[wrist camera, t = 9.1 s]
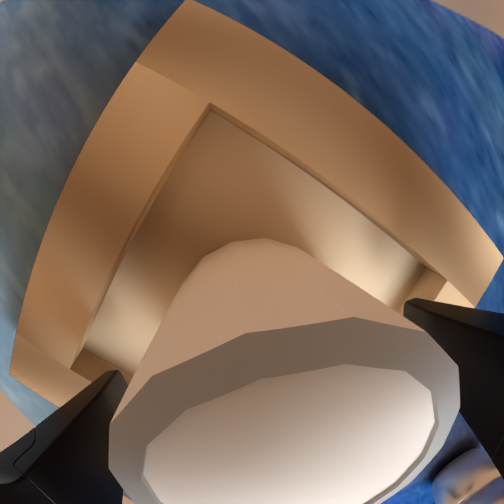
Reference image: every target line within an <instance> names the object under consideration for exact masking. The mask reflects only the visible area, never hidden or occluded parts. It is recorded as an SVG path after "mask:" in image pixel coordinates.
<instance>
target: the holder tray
mask: <svg viewBox="0 0 504 504" xmlns="http://www.w3.org/2000/svg"><path fill="white" fill-rule="evenodd" d="M261 238H268V239H271V240H274V241H278V242H281V243H285V244H288V245H291V246H295V247H297V248H299V249H301V250H302V251H304V252H305V253H307V254H308V255H310V256H312V257H313V258H315V259H316V260H318V261H319V262H321V263H323V264H324V265H326V266H327V267H329V268H330V269H332V270H333V271H335V272H337V273H338V274H340V275H341V276H343V277H344V278H346V279H347V280H349V281H351V282H352V283H354V284H355V285H357V286H358V287H360V288H361V289H363V290H364V291H366V292H367V293H369V294H370V295H372V296H373V297H375V298H377V299H378V300H380V301H381V302H383V303H384V304H386V305H387V306H389V307H390V308H392V309H393V310H395V311H396V312H398V313H399V314H401V315H402V316H403V306H404V303H405V301H407V300H410V299H413V298H421V299H426V300H431V301H437V302H442V303H448V304H453V305H458V306H464V307H469V308H475V306H476V305H477V303H478V302H479V300H480V298H481V297H482V295H483V294H484V292H485V290H486V289H487V287H488V285H489V284H490V282H491V280H492V278H493V277H494V275H495V273H496V271H497V269H498V268H499V266H500V264H501V262H502V260H503V256H502V255H501V253H500V252H499V250H498V249H497V248H496V246H495V245H494V244H493V242H492V241H491V240H490V238H489V237H488V236H487V234H486V233H485V232H484V230H483V229H482V228H481V226H480V225H479V224H478V223H477V221H476V220H475V219H474V218H473V216H472V215H471V214H470V213H469V211H468V210H467V209H466V208H465V207H464V205H463V204H462V203H461V202H460V201H459V200H458V198H457V197H456V196H455V195H454V194H453V193H452V192H451V190H450V189H449V188H448V187H447V186H446V185H445V184H444V183H443V182H442V180H441V179H440V178H439V177H438V176H437V175H436V174H435V173H434V172H433V171H432V170H431V169H430V168H429V167H428V166H427V165H426V164H425V163H424V162H423V161H422V160H421V159H420V157H418V156H417V155H416V154H415V153H414V152H413V151H412V150H411V149H410V148H409V147H408V146H407V145H406V144H405V143H404V142H403V141H402V140H401V139H400V138H399V137H398V136H397V135H396V134H394V133H393V132H392V131H391V130H390V129H389V128H388V127H387V126H386V125H384V124H383V123H382V122H381V121H380V120H379V119H378V118H376V117H375V116H374V115H373V114H372V113H371V112H369V111H368V110H367V109H366V108H365V107H363V106H362V105H361V104H360V103H358V102H357V101H356V100H355V99H353V98H352V97H351V96H350V95H348V94H347V93H346V92H345V91H343V90H342V89H341V88H339V87H338V86H337V85H335V84H334V83H333V82H331V81H330V80H329V79H327V78H326V77H325V76H323V75H322V74H320V73H319V72H318V71H316V70H315V69H313V68H312V67H310V66H309V65H308V64H306V63H305V62H303V61H302V60H300V59H299V58H297V57H296V56H294V55H293V54H291V53H289V52H288V51H286V50H285V49H283V48H282V47H280V46H278V45H277V44H275V43H273V42H272V41H270V40H269V39H267V38H265V37H263V36H262V35H260V34H258V33H257V32H255V31H253V30H251V29H249V28H248V27H246V26H244V25H242V24H240V23H239V22H237V21H235V20H233V19H231V18H229V17H227V16H225V15H223V14H221V13H219V12H217V11H215V10H213V9H211V8H209V7H207V6H205V5H203V4H200V3H198V2H196V1H194V0H185V1H184V2H183V3H182V4H181V5H180V7H179V8H178V9H177V10H176V11H175V12H174V13H173V15H172V16H171V17H170V18H169V19H168V21H167V22H166V23H165V24H164V25H163V27H162V28H161V29H160V30H159V31H158V33H157V34H156V35H155V37H154V38H153V39H152V40H151V42H150V43H149V44H148V46H147V47H146V48H145V50H144V51H143V52H142V54H141V55H140V56H139V58H138V59H137V60H136V62H135V63H134V65H133V66H132V68H131V69H130V70H129V72H128V73H127V75H126V76H125V78H124V79H123V81H122V82H121V84H120V85H119V87H118V88H117V90H116V91H115V93H114V95H113V96H112V98H111V99H110V101H109V102H108V104H107V106H106V107H105V109H104V111H103V112H102V114H101V116H100V117H99V119H98V121H97V123H96V124H95V126H94V128H93V130H92V132H91V133H90V135H89V137H88V139H87V141H86V143H85V144H84V146H83V148H82V150H81V152H80V154H79V156H78V158H77V160H76V162H75V164H74V166H73V168H72V170H71V172H70V174H69V177H68V179H67V181H66V183H65V185H64V187H63V190H62V192H61V194H60V197H59V199H58V201H57V204H56V206H55V208H54V211H53V213H52V216H51V218H50V221H49V223H48V226H47V229H46V231H45V234H44V237H43V240H42V242H41V245H40V248H39V251H38V254H37V257H36V260H35V263H34V266H33V269H32V273H31V276H30V279H29V283H28V286H27V290H26V294H25V297H24V301H23V305H22V309H21V313H20V317H19V322H18V326H17V331H16V336H15V341H14V346H13V351H12V357H11V363H10V370H9V374H10V375H11V376H12V377H14V378H15V379H17V380H18V381H19V382H21V383H22V384H24V385H25V386H27V387H28V388H30V389H31V390H33V391H34V392H36V393H37V394H39V395H40V396H42V397H43V398H45V399H47V400H48V401H50V402H51V403H53V404H55V405H56V406H58V407H61V406H63V405H64V404H65V403H66V402H68V401H69V400H70V399H71V398H73V397H74V396H75V395H77V394H78V393H79V392H80V391H82V390H83V389H84V388H85V387H87V386H88V385H89V384H91V383H92V382H93V381H94V380H96V379H97V378H98V377H99V376H101V375H102V374H103V373H104V372H106V371H108V370H116V369H118V370H119V371H120V372H121V373H122V375H123V377H124V379H125V381H126V383H127V384H128V386H129V384H130V382H131V380H132V378H133V376H134V374H135V372H136V370H137V368H138V366H139V364H140V362H141V360H142V358H143V356H144V354H145V352H146V350H147V349H148V347H149V345H150V343H151V341H152V339H153V337H154V335H155V333H156V331H157V329H158V328H159V326H160V324H161V322H162V320H163V318H164V316H165V314H166V313H167V311H168V309H169V307H170V305H171V303H172V302H173V300H174V298H175V296H176V294H177V292H178V291H179V289H180V287H181V285H182V283H183V282H184V280H185V279H186V278H187V277H188V275H189V274H190V273H191V272H192V270H193V269H194V268H195V267H196V265H197V264H198V263H199V262H200V260H201V259H202V258H203V257H204V256H206V255H208V254H210V253H212V252H214V251H216V250H218V249H219V248H221V247H223V246H225V245H227V244H229V243H231V242H233V241H242V240H252V239H261Z"/></svg>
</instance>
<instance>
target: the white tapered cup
mask: <svg viewBox="0 0 504 504" xmlns="http://www.w3.org/2000/svg"><path fill="white" fill-rule="evenodd" d="M459 409H460V386H459V369H458V365H457V364H456V363H455V362H454V361H453V360H452V359H451V358H450V357H449V355H448V354H447V353H446V352H445V351H444V350H443V349H442V348H441V347H440V346H439V345H438V344H437V342H436V341H435V340H434V339H433V338H432V337H431V336H430V335H429V334H428V333H427V332H426V331H424V330H423V329H421V328H420V327H419V326H417V325H416V324H414V323H413V322H411V321H410V320H408V319H407V318H405V317H404V316H402V315H401V314H399V313H398V312H396V311H395V310H393V309H392V308H390V307H389V306H387V305H386V304H384V303H383V302H381V301H380V300H378V299H377V298H375V297H373V296H372V295H370V294H369V293H367V292H366V291H364V290H363V289H361V288H360V287H358V286H357V285H355V284H354V283H352V282H351V281H349V280H347V279H346V278H344V277H343V276H341V275H340V274H338V273H337V272H335V271H333V270H332V269H330V268H329V267H327V266H326V265H324V264H323V263H321V262H319V261H318V260H316V259H315V258H313V257H312V256H310V255H308V254H307V253H305V252H304V251H302V250H301V249H299V248H297V247H295V246H291V245H288V244H285V243H281V242H278V241H274V240H271V239H268V238H261V239H252V240H242V241H233V242H231V243H229V244H227V245H225V246H223V247H221V248H219V249H218V250H216V251H214V252H212V253H210V254H208V255H206V256H204V257H203V258H202V259H201V260H200V262H199V263H198V264H197V265H196V267H195V268H194V269H193V270H192V272H191V273H190V274H189V275H188V277H187V278H186V279H185V280H184V282H183V283H182V285H181V287H180V289H179V291H178V292H177V294H176V296H175V298H174V300H173V302H172V303H171V305H170V307H169V309H168V311H167V313H166V314H165V316H164V318H163V320H162V322H161V324H160V326H159V328H158V329H157V331H156V333H155V335H154V337H153V339H152V341H151V343H150V345H149V347H148V349H147V350H146V352H145V354H144V356H143V358H142V360H141V362H140V364H139V366H138V368H137V370H136V372H135V374H134V376H133V378H132V380H131V382H130V384H129V386H128V388H127V390H126V392H125V394H124V396H123V398H122V400H121V402H120V404H119V406H118V408H117V410H116V412H115V414H114V416H113V418H112V421H111V423H110V427H109V469H110V471H111V472H112V474H113V475H114V477H115V478H116V480H117V481H118V482H119V484H120V485H121V487H122V488H123V489H124V491H125V492H126V494H127V495H128V496H129V498H130V499H131V500H132V502H133V503H135V504H380V503H382V502H383V501H385V500H386V499H388V498H389V497H391V496H392V495H394V494H395V493H397V492H398V491H399V490H401V489H402V488H404V487H405V486H406V485H408V484H409V483H410V482H411V481H412V480H413V479H414V478H415V477H416V476H417V475H418V474H419V473H420V472H421V471H422V470H423V469H424V467H425V466H426V465H427V464H428V463H429V462H430V461H431V460H432V459H433V457H434V456H435V455H436V454H437V453H438V452H439V450H440V449H441V448H442V446H443V444H444V442H445V440H446V438H447V436H448V434H449V432H450V429H451V427H452V425H453V423H454V421H455V418H456V416H457V414H458V411H459Z"/></svg>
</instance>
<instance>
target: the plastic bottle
mask: <svg viewBox="0 0 504 504" xmlns="http://www.w3.org/2000/svg"><path fill="white" fill-rule="evenodd" d="M432 494H433V497H434V500H435V503H436V504H504V480H503V478H502V477H501V475H500V473H499V472H498V470H497V468H496V467H495V465H494V464H493V462H492V461H491V458H490V457H489V455H488V454H487V452H486V451H485V450H483V449H477V448H474V449H471V450H468V451H466V452H464V453H463V454H461V455H460V456H458V457H457V458H455V459H454V460H453V461H451V462H450V463H449V464H448V465H447V466H445V467H444V468H443V469H442V470H441V471H440V472H439V473H438V474H437V476H436V477H435V478H434V480H433V483H432Z"/></svg>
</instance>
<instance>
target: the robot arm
mask: <svg viewBox="0 0 504 504" xmlns="http://www.w3.org/2000/svg"><path fill="white" fill-rule="evenodd" d="M403 316H404V317H405V318H407V319H408V320H410V321H411V322H413V323H414V324H416V325H417V326H419V327H420V328H421V329H423V330H424V331H426V332H427V333H428V334H429V335H430V336H431V337H432V338H433V339H434V340H435V341H436V342H437V344H438V345H439V346H440V347H441V348H442V349H443V350H444V351H445V352H446V353H447V354H448V355H449V357H450V358H451V359H452V360H453V361H454V362H455V363H456V364H457V365H458V369H459V386H460V409H459V412H460V414H461V415H462V417H463V418H464V419H465V421H466V422H467V424H468V425H469V427H470V428H471V430H472V431H473V433H474V434H475V436H476V437H477V439H478V440H479V442H480V443H481V445H482V446H483V448H484V449H485V451H486V452H487V454H488V455H489V457H490V458H491V461H492V462H493V464H494V465H495V467H496V468H497V470H498V472H499V473H500V475H501V477H502V478H503V480H504V314H503V313H497V312H492V311H486V310H480V309H475V308H469V307H464V306H458V305H453V304H448V303H442V302H437V301H431V300H426V299H421V298H413V299H410V300H407V301H405V303H404V306H403ZM127 388H128V384H127V383H126V381H125V379H124V377H123V375H122V373H121V372H120V371H119V370H118V369H116V370H108V371H106V372H104V373H103V374H102V375H101V376H99V377H98V378H97V379H96V380H94V381H93V382H92V383H91V384H89V385H88V386H87V387H85V388H84V389H83V390H82V391H80V392H79V393H78V394H77V395H75V396H74V397H73V398H71V399H70V400H69V401H68V402H66V403H65V404H64V405H63V406H61V407H60V408H59V409H57V410H56V411H55V412H54V413H52V414H51V415H50V416H49V417H47V418H46V419H45V420H43V421H42V422H41V423H40V424H38V425H37V426H36V428H33V429H32V430H31V431H29V433H27V434H26V435H24V436H23V437H21V438H20V439H19V440H17V441H16V442H15V443H13V444H12V445H10V446H9V447H7V448H6V449H4V450H3V451H1V452H0V504H122V497H123V488H122V487H121V485H120V484H119V482H118V481H117V480H116V478H115V477H114V475H113V474H112V472H111V471H110V469H109V427H110V423H111V421H112V418H113V416H114V414H115V412H116V410H117V408H118V406H119V404H120V402H121V400H122V398H123V396H124V394H125V392H126V390H127Z"/></svg>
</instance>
